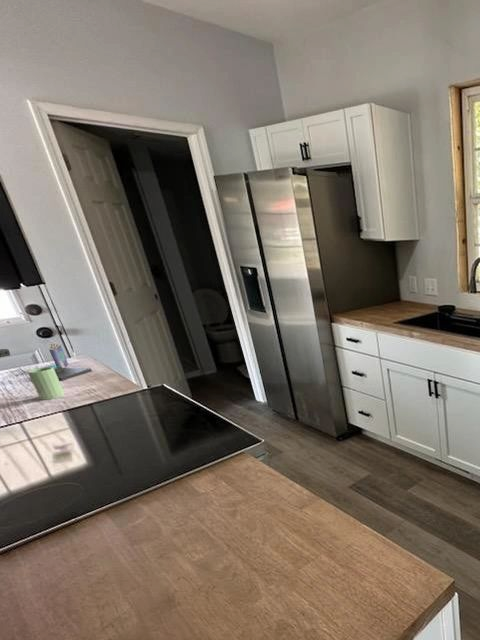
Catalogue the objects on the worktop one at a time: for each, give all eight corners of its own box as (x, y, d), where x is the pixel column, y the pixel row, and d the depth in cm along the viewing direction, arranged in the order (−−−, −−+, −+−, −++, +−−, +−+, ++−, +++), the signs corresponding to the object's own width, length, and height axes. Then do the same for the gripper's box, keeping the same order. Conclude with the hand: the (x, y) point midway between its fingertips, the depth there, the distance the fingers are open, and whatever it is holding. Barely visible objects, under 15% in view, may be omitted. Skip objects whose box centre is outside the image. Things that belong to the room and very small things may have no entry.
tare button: (45, 370, 164) (43, 366, 163) (53, 368, 166) (51, 364, 166) (51, 370, 163) (49, 366, 163) (59, 368, 166) (57, 364, 165)
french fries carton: (65, 369, 173) (54, 344, 169) (55, 370, 172) (44, 345, 168) (69, 363, 180) (59, 340, 176) (60, 365, 178) (49, 341, 175)
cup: (35, 399, 142) (22, 372, 138) (54, 393, 148) (43, 366, 144) (50, 400, 141) (37, 372, 138) (69, 393, 147) (58, 367, 143)
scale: (32, 380, 161) (29, 373, 160) (63, 370, 171) (60, 364, 170) (62, 380, 160) (59, 373, 158) (92, 371, 170) (89, 364, 169)
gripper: (-50, 352, 114) (23, 340, 131) (-96, 352, 115) (-17, 340, 131) (-39, 378, 116) (31, 363, 133) (-84, 378, 117) (-9, 363, 133)
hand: (7, 352), depth 132 cm, fingers closed
